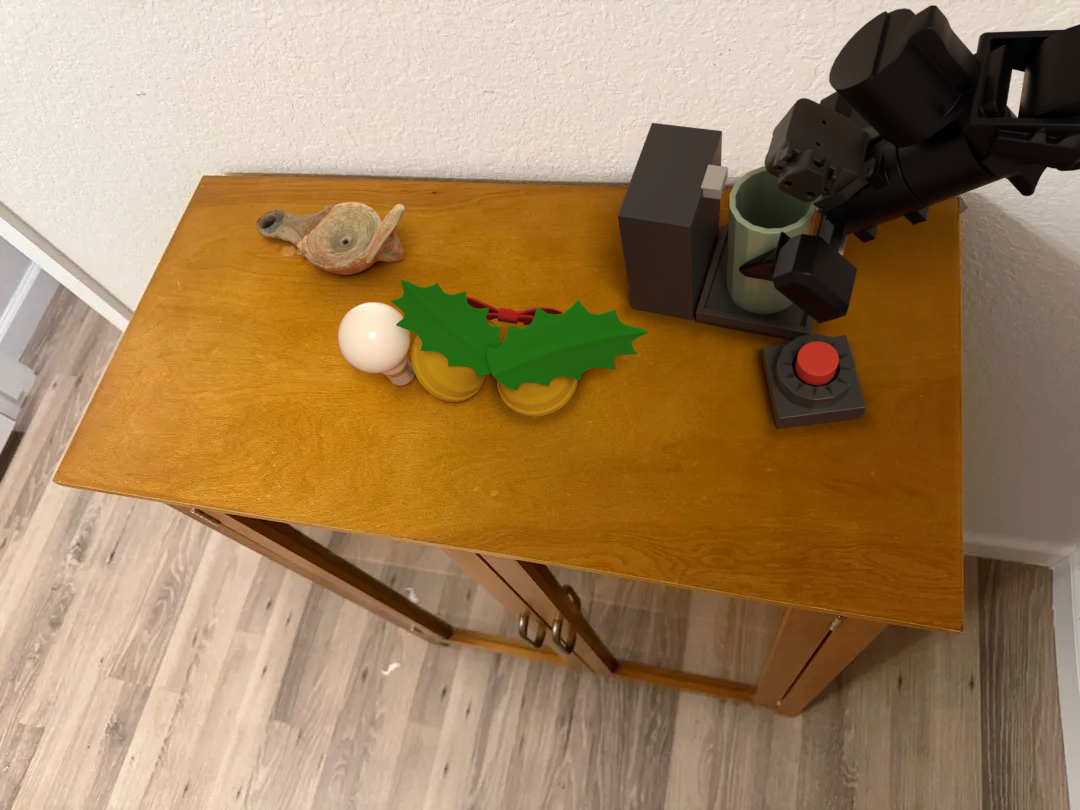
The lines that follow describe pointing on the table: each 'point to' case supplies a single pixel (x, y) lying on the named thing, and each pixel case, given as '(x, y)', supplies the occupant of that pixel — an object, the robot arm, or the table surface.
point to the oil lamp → (338, 235)
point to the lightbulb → (376, 342)
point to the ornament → (508, 347)
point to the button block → (808, 401)
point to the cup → (761, 236)
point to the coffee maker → (687, 236)
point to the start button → (816, 363)
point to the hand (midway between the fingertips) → (752, 237)
